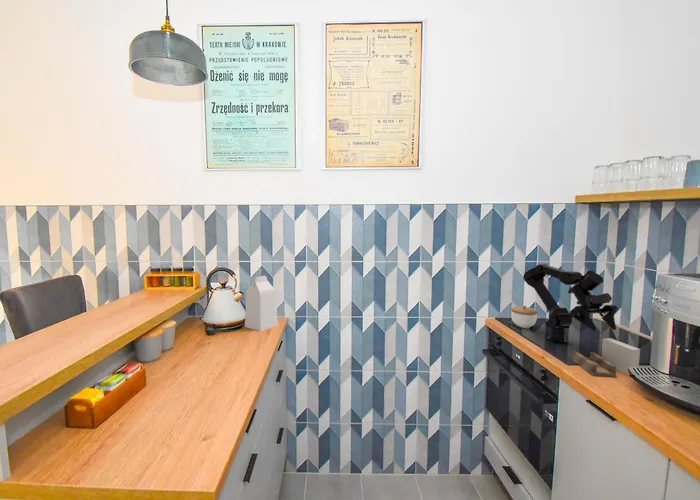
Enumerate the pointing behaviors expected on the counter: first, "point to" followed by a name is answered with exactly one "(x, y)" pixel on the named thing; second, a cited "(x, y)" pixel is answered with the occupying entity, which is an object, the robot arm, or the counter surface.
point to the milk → (261, 305)
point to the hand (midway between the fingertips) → (605, 330)
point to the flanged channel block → (595, 364)
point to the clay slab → (620, 354)
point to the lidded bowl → (524, 316)
